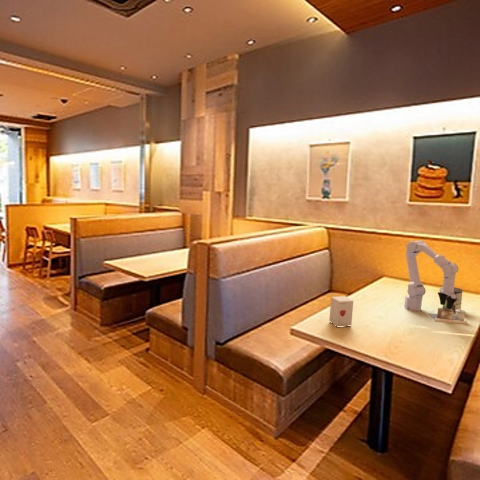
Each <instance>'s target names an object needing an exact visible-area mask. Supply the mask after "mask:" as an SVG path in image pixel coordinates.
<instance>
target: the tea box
mask: <svg viewBox="0 0 480 480" xmlns="http://www.w3.org/2000/svg"><path fill="white" fill-rule="evenodd" d="M454 313H455V312H454V310H452V309H447V308H443V307H438V308H437V313H436V314H437V318H438V319H448V320H453V316H454Z"/></svg>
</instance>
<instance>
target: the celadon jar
mask: <svg viewBox="0 0 480 480" xmlns="http://www.w3.org/2000/svg"><path fill="white" fill-rule="evenodd" d="M465 315H466V311H465V310H463V309H462V308H461V309H460V310H456V312H455V316H456V317H455V320H459V321H465Z"/></svg>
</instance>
